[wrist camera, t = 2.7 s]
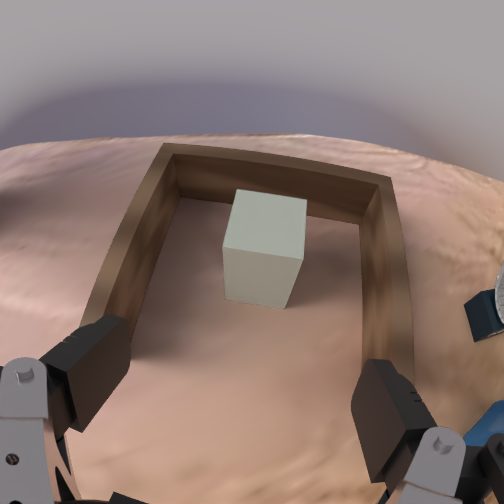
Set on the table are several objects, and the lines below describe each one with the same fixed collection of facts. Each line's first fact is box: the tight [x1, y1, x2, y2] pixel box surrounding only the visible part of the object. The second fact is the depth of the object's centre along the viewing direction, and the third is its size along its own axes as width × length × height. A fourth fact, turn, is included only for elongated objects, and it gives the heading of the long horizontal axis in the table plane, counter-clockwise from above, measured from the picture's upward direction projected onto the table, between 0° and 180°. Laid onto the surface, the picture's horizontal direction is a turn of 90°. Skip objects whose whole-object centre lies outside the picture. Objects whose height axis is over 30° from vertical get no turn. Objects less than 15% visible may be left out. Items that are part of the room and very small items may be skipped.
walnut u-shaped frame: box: [79, 143, 414, 386], centre depth 24 cm, size 19×22×6 cm
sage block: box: [222, 189, 307, 309], centre depth 23 cm, size 5×5×8 cm
